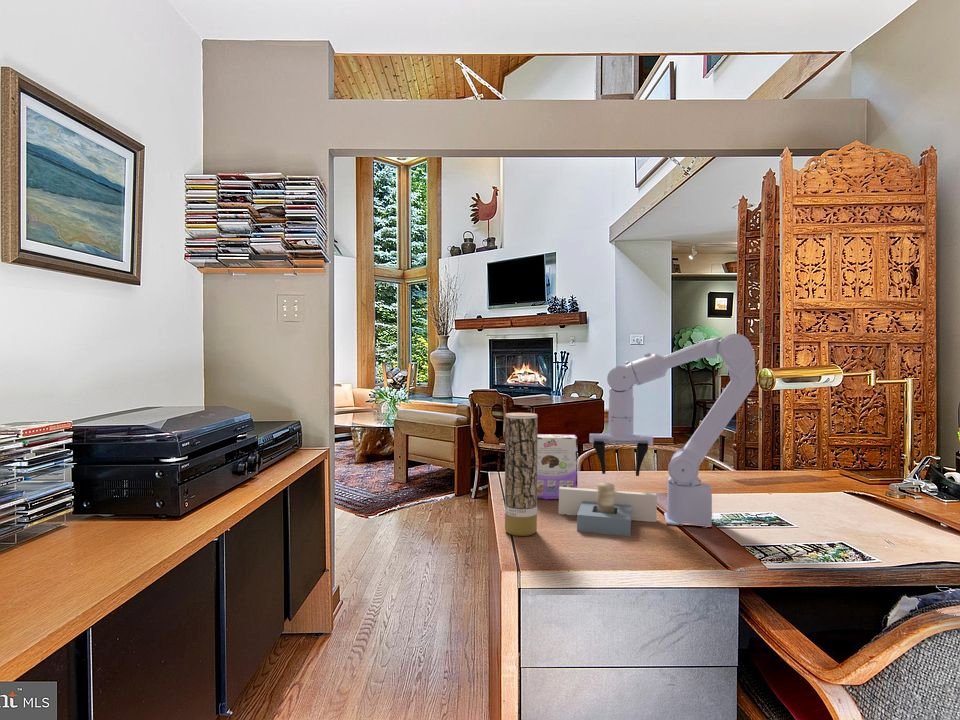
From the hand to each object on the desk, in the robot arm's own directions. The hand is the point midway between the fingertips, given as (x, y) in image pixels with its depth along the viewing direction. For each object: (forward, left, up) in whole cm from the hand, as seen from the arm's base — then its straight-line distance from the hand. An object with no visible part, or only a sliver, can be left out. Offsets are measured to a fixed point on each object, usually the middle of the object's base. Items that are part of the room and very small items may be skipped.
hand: (620, 474), depth 129 cm
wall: (+3, +4, -9) cm, 10 cm away
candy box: (+18, -10, -10) cm, 23 cm away
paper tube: (+20, +20, -10) cm, 30 cm away
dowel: (+3, +10, -8) cm, 14 cm away
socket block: (+3, +10, -10) cm, 15 cm away
